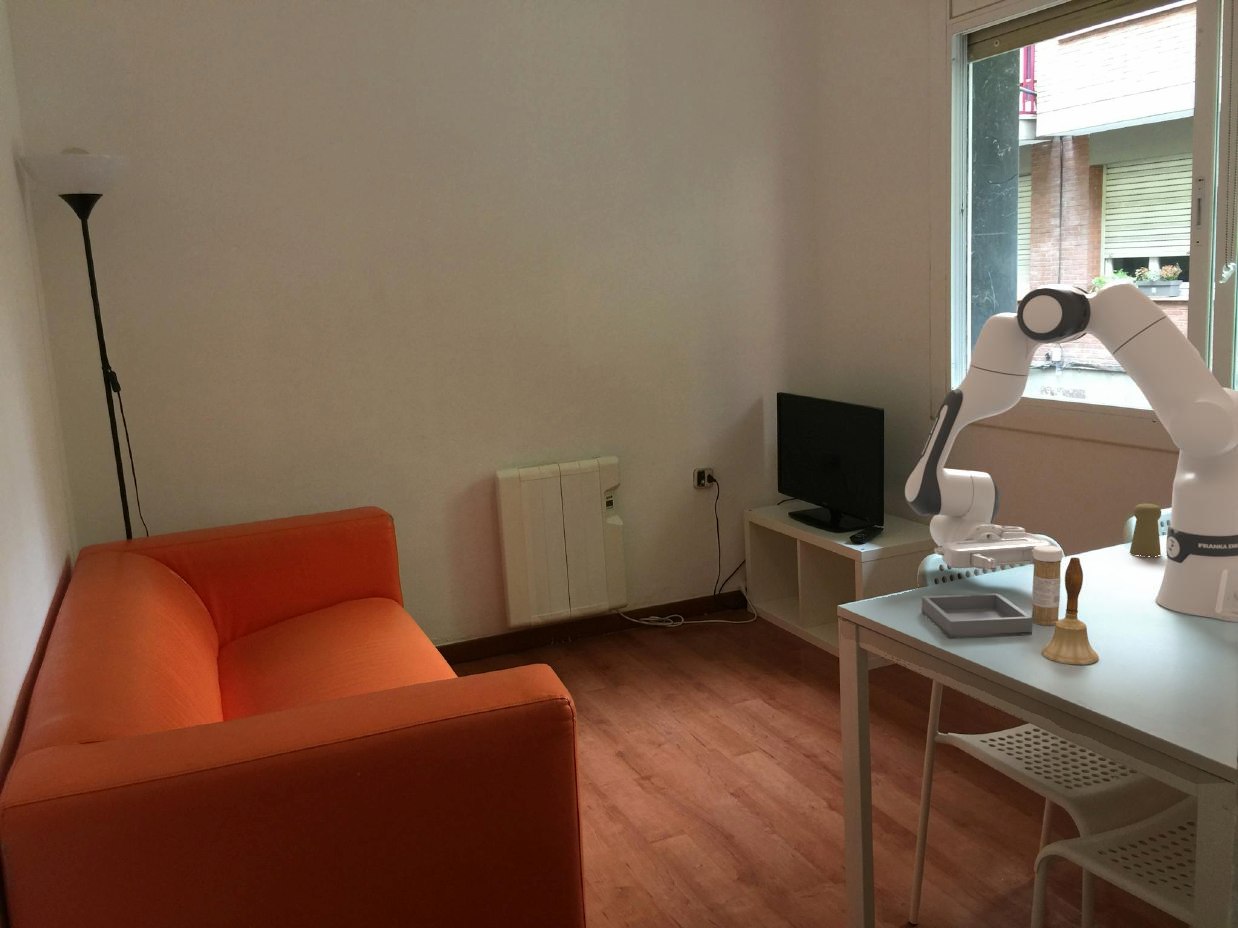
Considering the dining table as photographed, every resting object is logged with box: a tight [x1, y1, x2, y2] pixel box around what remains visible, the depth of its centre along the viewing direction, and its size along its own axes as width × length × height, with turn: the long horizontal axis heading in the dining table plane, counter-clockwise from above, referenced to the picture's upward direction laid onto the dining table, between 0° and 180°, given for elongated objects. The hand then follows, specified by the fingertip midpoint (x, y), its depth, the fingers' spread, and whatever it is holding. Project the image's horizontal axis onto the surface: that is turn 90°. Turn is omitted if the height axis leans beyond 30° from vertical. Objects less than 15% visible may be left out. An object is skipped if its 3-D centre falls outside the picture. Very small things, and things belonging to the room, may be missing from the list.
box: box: [921, 592, 1034, 640], centre depth 171 cm, size 14×14×3 cm
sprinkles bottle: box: [1031, 545, 1063, 626], centre depth 170 cm, size 5×5×14 cm
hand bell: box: [1041, 557, 1100, 666], centre depth 154 cm, size 8×8×16 cm
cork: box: [1129, 503, 1162, 558], centre depth 211 cm, size 6×6×11 cm
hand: (1016, 563), depth 180 cm, fingers open, 8 cm apart
